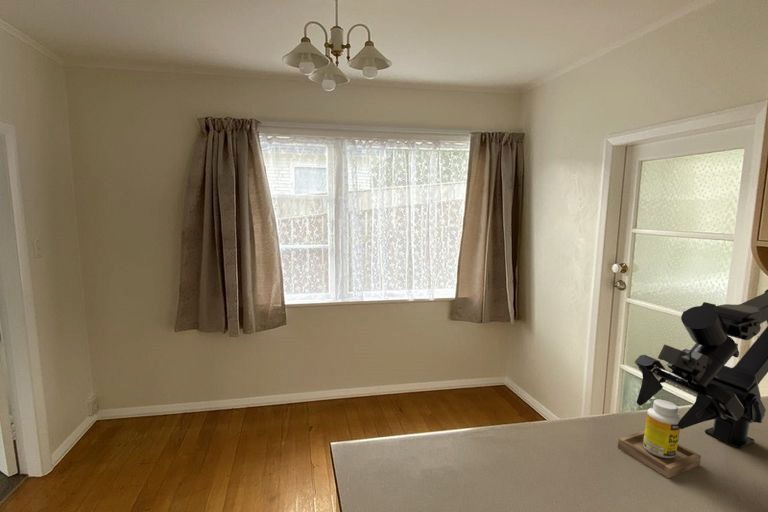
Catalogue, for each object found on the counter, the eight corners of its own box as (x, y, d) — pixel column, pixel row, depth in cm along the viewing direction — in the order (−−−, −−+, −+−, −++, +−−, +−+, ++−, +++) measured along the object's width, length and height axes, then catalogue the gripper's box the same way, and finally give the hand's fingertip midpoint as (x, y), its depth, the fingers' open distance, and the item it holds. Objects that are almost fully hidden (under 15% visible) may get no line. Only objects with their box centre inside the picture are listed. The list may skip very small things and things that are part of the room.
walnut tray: (648, 436, 86) (649, 428, 86) (699, 465, 77) (701, 455, 77) (617, 447, 82) (618, 438, 82) (668, 478, 73) (669, 468, 73)
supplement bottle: (668, 463, 76) (676, 414, 74) (637, 448, 80) (643, 401, 79) (680, 454, 79) (687, 406, 77) (649, 440, 83) (656, 394, 82)
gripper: (646, 318, 86) (599, 371, 85) (742, 350, 68) (686, 416, 67) (669, 350, 89) (625, 401, 88) (767, 388, 71) (714, 452, 70)
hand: (657, 415), depth 78 cm, fingers open, 8 cm apart
